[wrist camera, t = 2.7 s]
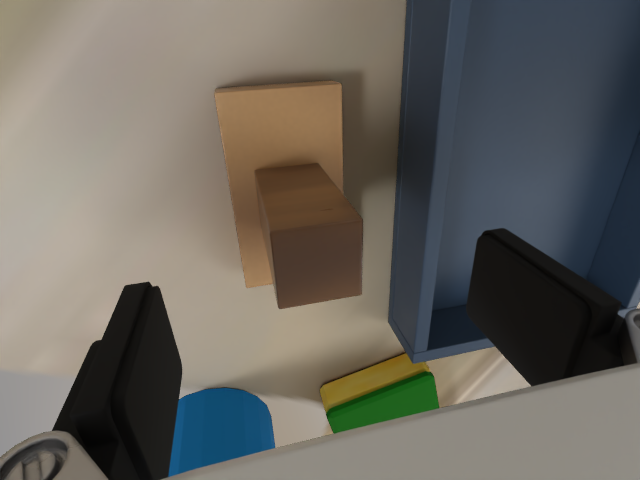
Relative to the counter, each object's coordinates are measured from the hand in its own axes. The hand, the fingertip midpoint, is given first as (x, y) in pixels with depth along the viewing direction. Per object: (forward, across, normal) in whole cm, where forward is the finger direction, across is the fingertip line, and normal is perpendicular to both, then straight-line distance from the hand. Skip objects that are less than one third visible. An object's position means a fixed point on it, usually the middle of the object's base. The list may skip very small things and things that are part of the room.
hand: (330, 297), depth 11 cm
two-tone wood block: (+8, 0, -1) cm, 8 cm away
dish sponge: (+9, -6, +19) cm, 22 cm away
